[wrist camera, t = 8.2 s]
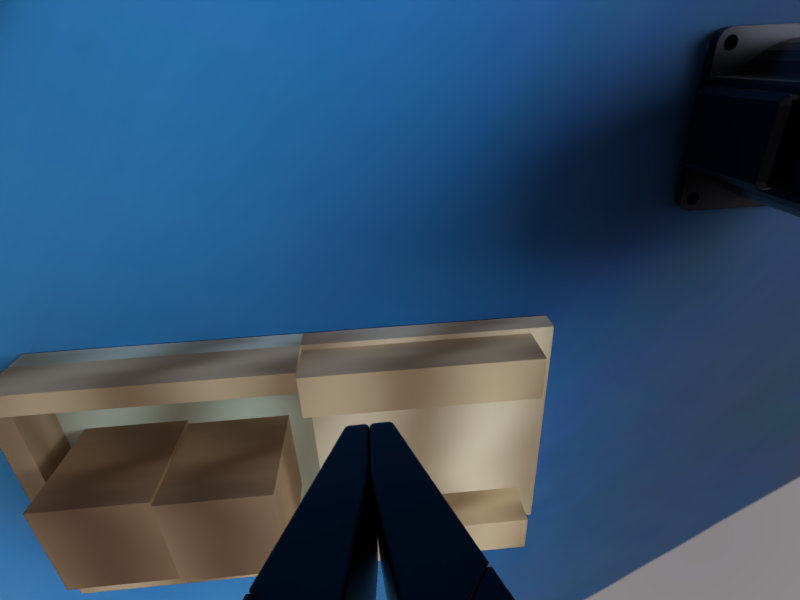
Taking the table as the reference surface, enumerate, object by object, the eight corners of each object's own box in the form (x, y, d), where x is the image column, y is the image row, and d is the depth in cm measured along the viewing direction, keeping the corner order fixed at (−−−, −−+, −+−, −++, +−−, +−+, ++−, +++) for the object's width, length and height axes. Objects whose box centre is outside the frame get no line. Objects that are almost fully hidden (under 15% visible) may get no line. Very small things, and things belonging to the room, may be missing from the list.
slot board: (546, 315, 22) (572, 351, 19) (525, 499, 27) (543, 547, 25) (22, 353, 21) (-28, 398, 18) (110, 538, 26) (81, 593, 23)
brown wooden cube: (187, 420, 22) (149, 502, 18) (209, 490, 24) (180, 578, 20) (85, 428, 21) (23, 514, 17) (116, 499, 23) (67, 589, 19)
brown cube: (288, 415, 22) (273, 494, 18) (301, 484, 24) (290, 570, 20) (188, 423, 22) (150, 506, 18) (210, 493, 24) (181, 581, 20)
